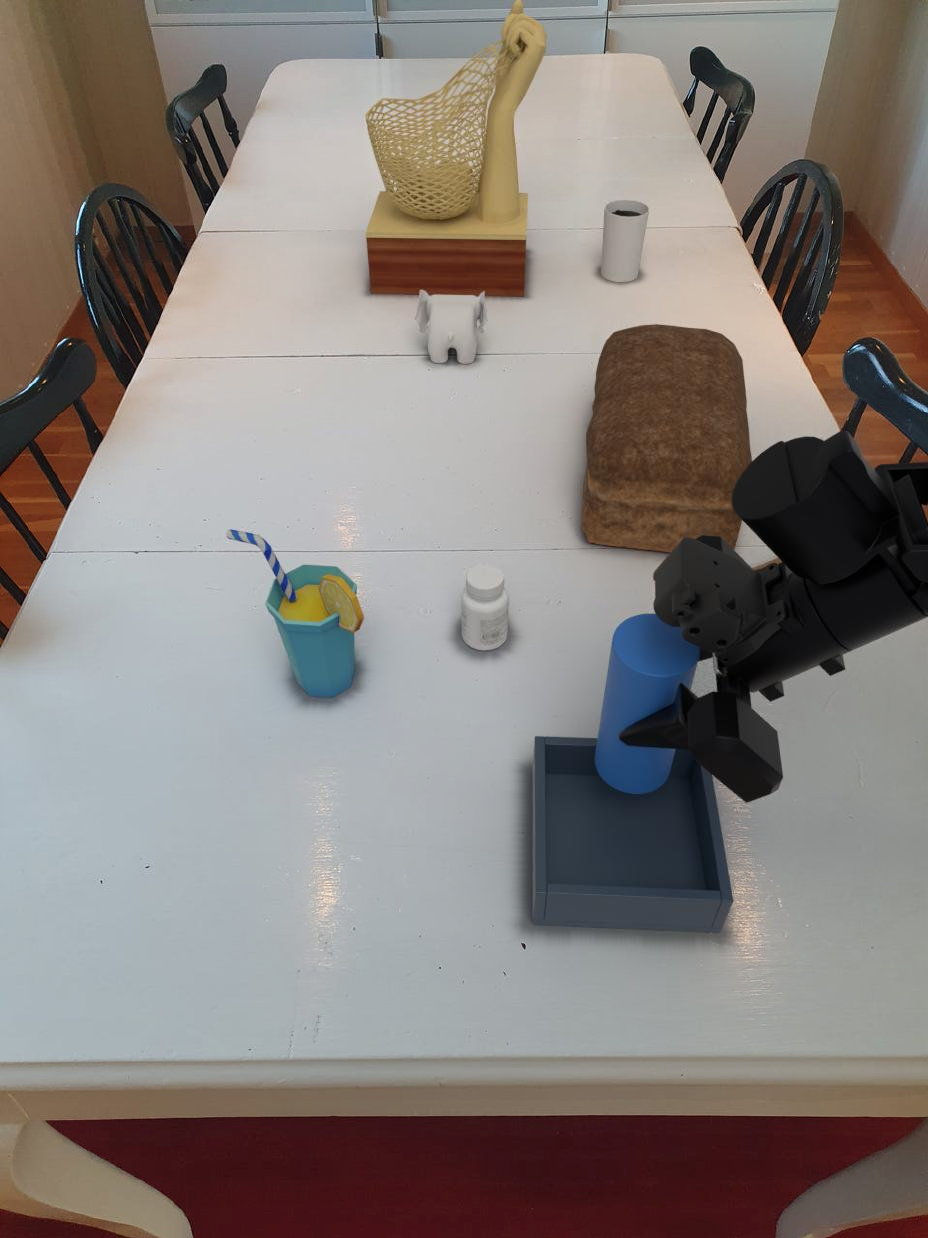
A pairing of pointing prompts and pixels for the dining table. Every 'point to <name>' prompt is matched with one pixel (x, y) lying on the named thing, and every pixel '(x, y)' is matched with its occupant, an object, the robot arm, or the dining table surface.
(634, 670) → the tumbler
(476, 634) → the pill bottle
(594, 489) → the bread
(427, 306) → the elephant figurine
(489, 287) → the net sculpture trophy
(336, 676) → the cup
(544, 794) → the tray
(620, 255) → the white cylindrical pot
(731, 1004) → the dining table surface
